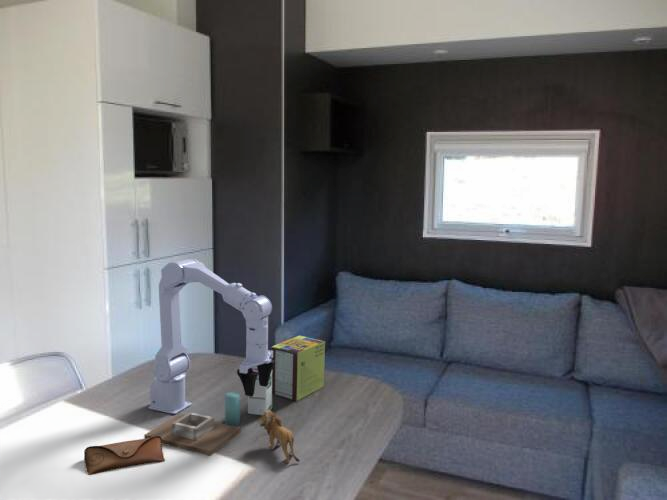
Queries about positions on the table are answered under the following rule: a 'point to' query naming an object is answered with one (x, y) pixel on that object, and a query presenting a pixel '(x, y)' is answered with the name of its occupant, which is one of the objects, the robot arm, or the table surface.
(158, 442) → the sunglasses case
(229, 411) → the peg
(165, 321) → the robot arm
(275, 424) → the lion figurine
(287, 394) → the protein box
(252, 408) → the syrup box
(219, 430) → the socket board
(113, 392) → the table surface
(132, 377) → the table surface
